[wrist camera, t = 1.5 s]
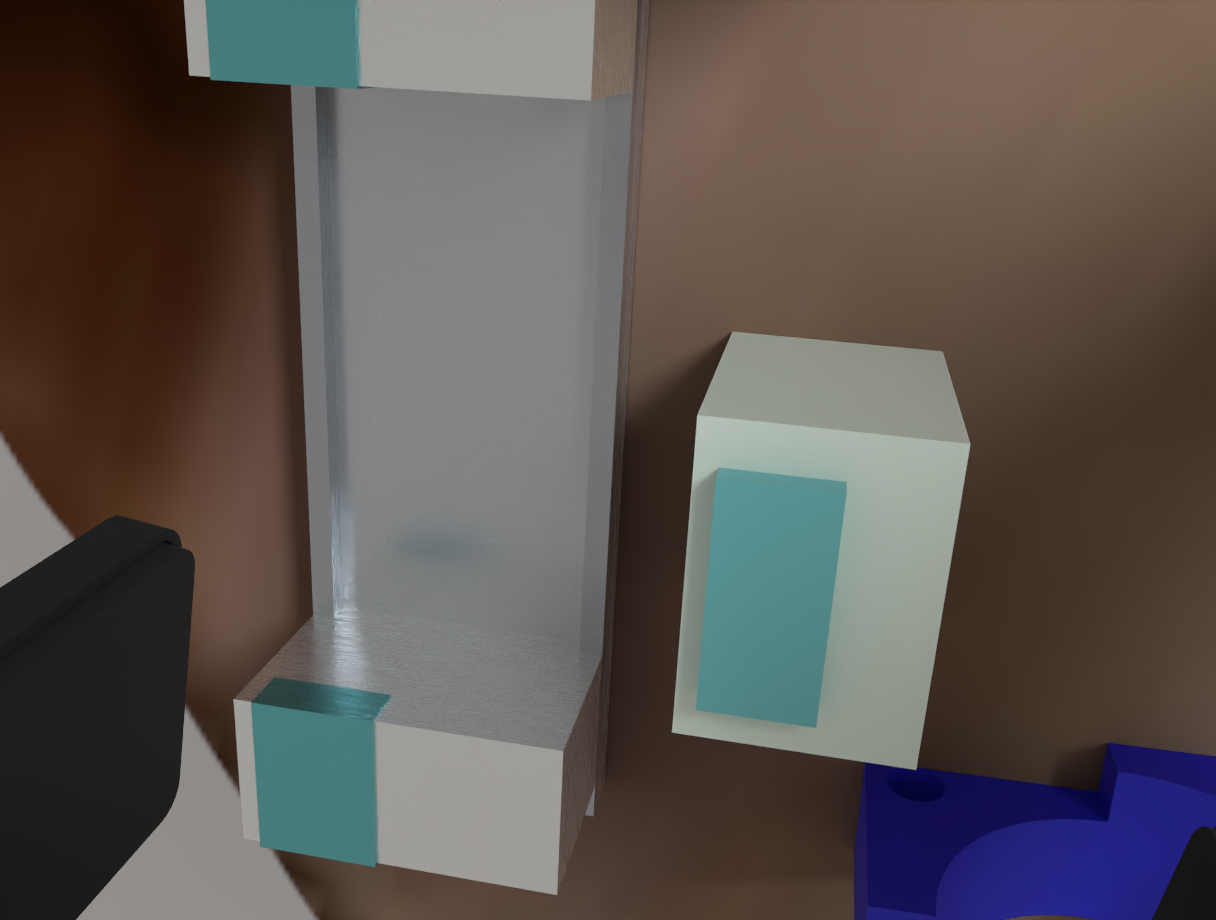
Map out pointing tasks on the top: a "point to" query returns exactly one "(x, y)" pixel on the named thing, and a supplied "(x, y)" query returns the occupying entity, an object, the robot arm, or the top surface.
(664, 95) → the top surface
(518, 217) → the rail
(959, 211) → the top surface
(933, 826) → the blue mounting bracket
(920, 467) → the block
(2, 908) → the robot arm
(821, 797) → the top surface
